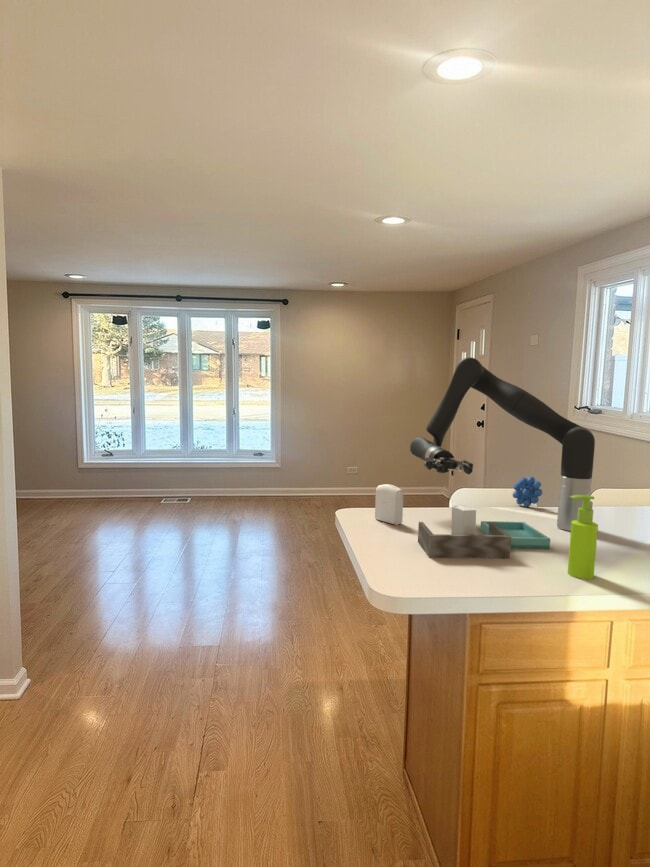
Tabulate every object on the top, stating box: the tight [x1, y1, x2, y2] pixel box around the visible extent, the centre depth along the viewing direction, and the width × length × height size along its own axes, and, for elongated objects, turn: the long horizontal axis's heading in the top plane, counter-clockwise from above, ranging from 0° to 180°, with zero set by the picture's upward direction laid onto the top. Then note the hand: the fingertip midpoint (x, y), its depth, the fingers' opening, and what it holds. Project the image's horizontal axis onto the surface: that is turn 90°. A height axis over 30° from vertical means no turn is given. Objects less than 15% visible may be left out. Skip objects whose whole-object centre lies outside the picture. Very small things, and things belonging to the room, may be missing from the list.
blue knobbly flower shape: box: [512, 476, 543, 508], centre depth 205 cm, size 12×7×12 cm, turn 42°
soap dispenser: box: [567, 495, 599, 580], centre depth 132 cm, size 6×7×20 cm
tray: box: [479, 520, 551, 550], centre depth 161 cm, size 14×18×3 cm
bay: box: [417, 521, 512, 559], centre depth 149 cm, size 22×14×6 cm, turn 93°
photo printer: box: [374, 483, 404, 526], centre depth 177 cm, size 10×4×12 cm, turn 39°
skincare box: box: [450, 504, 477, 535], centre depth 149 cm, size 6×4×12 cm
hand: (456, 470), depth 160 cm, fingers open, 8 cm apart
